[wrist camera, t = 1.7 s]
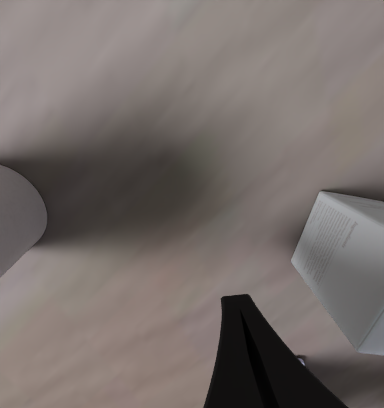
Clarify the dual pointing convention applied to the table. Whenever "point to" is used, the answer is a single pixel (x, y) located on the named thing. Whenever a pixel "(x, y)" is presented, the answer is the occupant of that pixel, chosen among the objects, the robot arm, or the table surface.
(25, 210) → the coffee cup
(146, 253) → the table surface
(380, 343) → the product box
